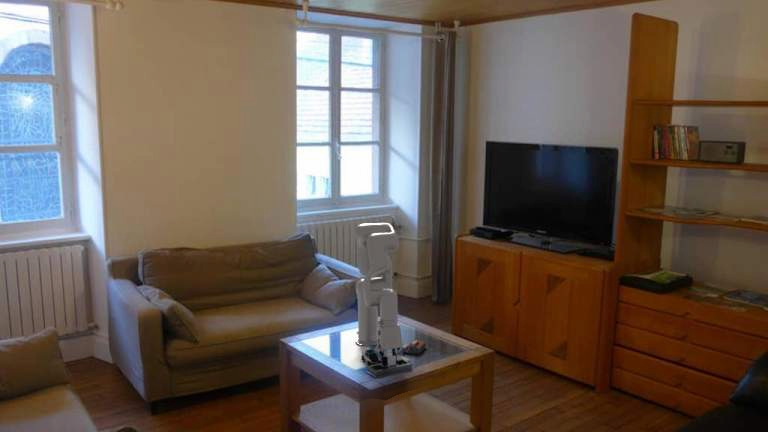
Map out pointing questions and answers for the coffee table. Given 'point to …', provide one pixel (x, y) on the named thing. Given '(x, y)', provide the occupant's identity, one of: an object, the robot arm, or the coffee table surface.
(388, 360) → the steel block
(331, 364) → the coffee table surface
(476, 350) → the coffee table surface
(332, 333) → the coffee table surface
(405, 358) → the sage mat
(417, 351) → the walkie-talkie
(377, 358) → the toy car
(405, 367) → the grey flat frame
